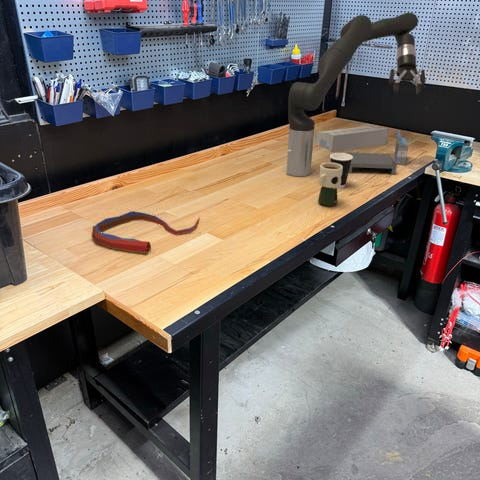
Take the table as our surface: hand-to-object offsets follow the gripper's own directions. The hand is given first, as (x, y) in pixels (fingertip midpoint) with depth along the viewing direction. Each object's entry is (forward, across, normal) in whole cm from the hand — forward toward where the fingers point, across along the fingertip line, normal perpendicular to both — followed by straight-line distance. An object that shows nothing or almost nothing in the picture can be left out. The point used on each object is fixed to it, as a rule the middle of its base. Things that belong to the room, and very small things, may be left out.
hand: (407, 93), depth 188 cm
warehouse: (+11, +18, -27) cm, 34 cm away
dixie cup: (+47, +31, +14) cm, 58 cm away
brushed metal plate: (+33, +16, -1) cm, 37 cm away
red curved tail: (+74, +90, +43) cm, 125 cm away
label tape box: (+27, +2, -8) cm, 28 cm away
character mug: (+58, +36, +27) cm, 74 cm away
